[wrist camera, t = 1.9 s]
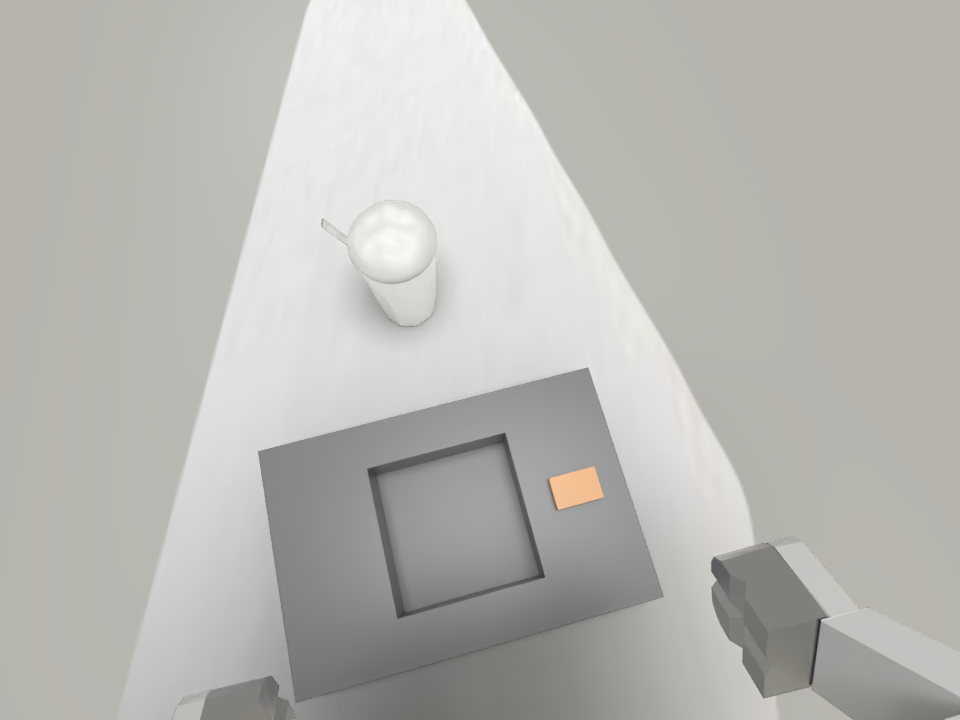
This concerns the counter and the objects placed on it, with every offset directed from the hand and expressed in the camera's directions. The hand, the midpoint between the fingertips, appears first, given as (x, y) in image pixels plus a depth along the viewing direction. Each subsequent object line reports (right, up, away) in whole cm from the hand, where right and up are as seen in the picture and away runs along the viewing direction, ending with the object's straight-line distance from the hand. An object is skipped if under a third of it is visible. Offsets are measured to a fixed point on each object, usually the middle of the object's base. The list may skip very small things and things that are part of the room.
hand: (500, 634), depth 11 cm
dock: (-2, -4, +23) cm, 23 cm away
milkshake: (-5, +8, +27) cm, 29 cm away
